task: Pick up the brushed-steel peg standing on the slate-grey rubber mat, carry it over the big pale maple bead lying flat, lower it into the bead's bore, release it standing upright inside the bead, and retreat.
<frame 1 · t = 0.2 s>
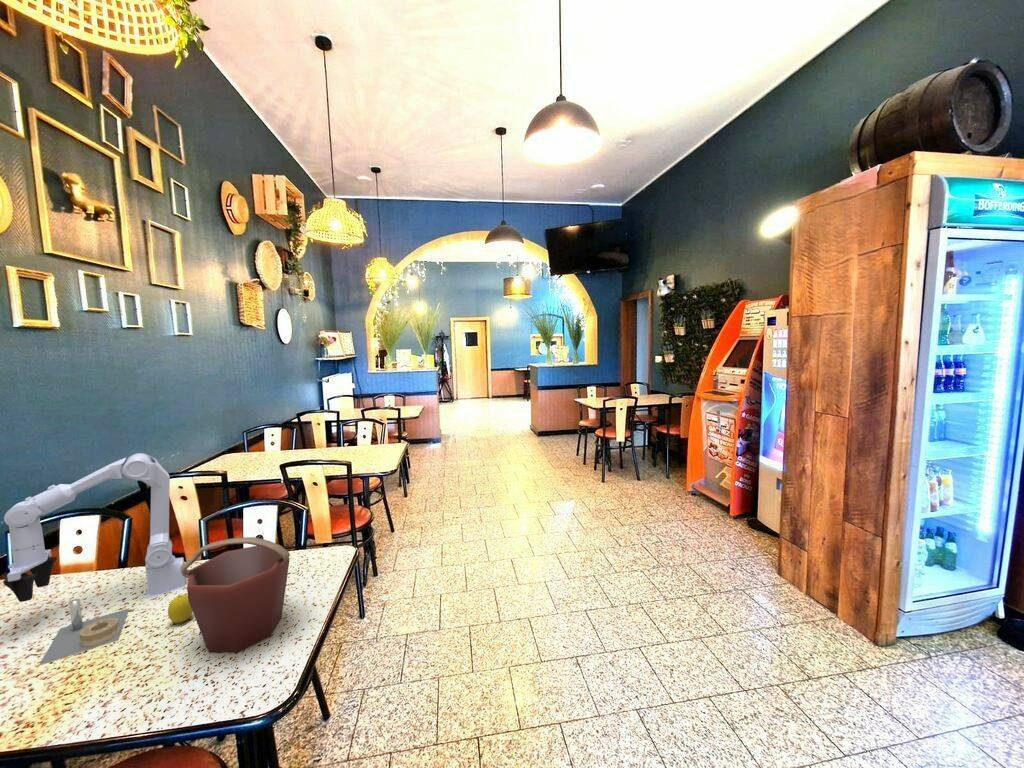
hand: (34, 593, 113), 10 cm above the table, tool pointing down, fingers open, 7 cm apart
steel peg: (77, 628, 112), point 1 cm above the table, touching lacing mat
lemon: (182, 623, 114), on the table
maple bead: (100, 637, 108), point 1 cm above the table, touching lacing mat
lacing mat: (88, 636, 110), on the table
bucket: (245, 630, 110), on the table
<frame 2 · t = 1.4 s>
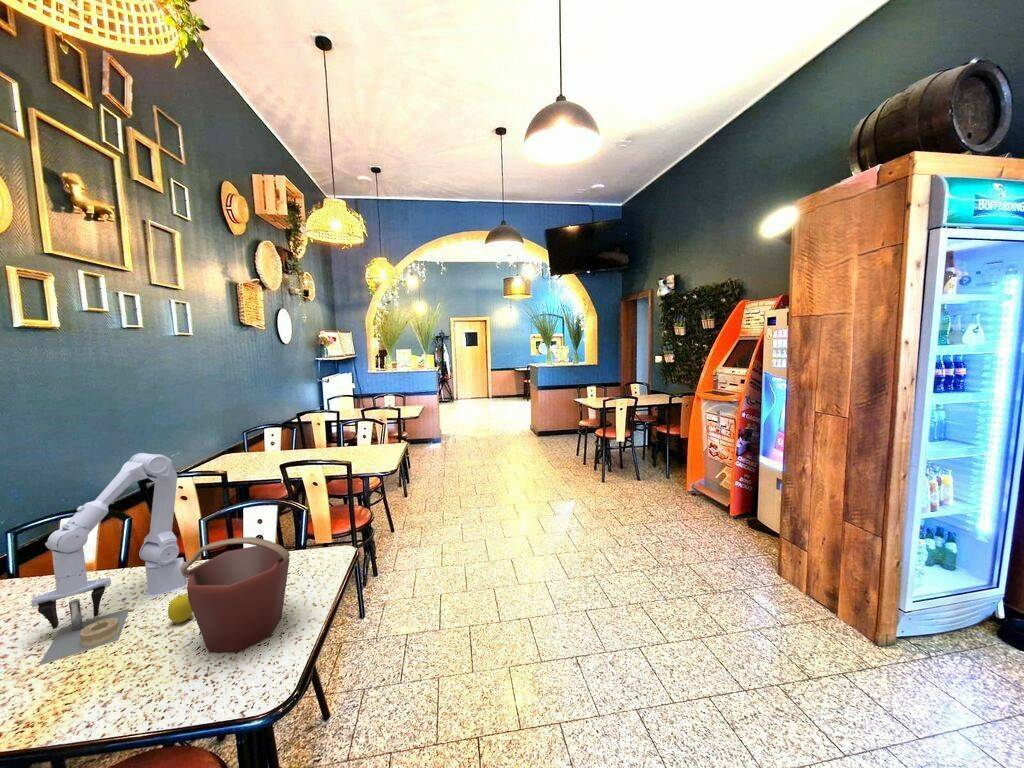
hand: (76, 620, 112), 3 cm above the table, tool pointing down, fingers open, 7 cm apart
nothing on the table moved.
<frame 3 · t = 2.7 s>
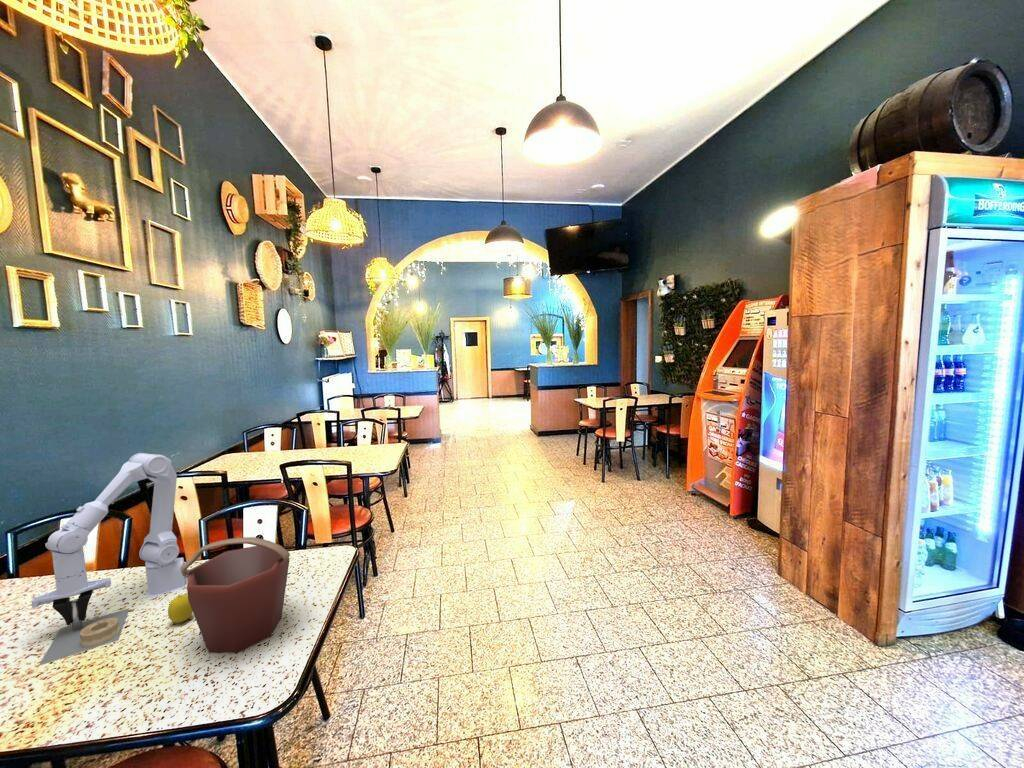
hand: (76, 621, 112), 3 cm above the table, tool pointing down, fingers closed on steel peg, 2 cm apart
steel peg: (77, 628, 112), point 1 cm above the table, touching gripper, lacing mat
everything else where it was.
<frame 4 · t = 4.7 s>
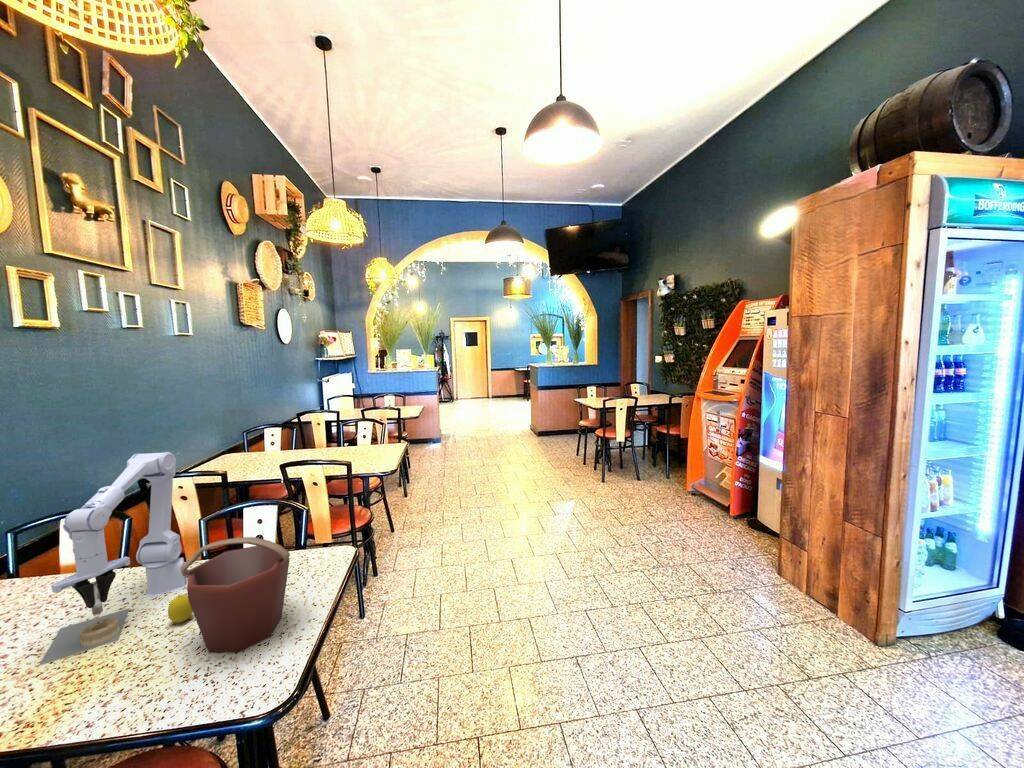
hand: (96, 603, 107), 10 cm above the table, tool pointing down, fingers closed on steel peg
steel peg: (97, 612, 107), point 7 cm above the table, touching gripper
everything else where it was.
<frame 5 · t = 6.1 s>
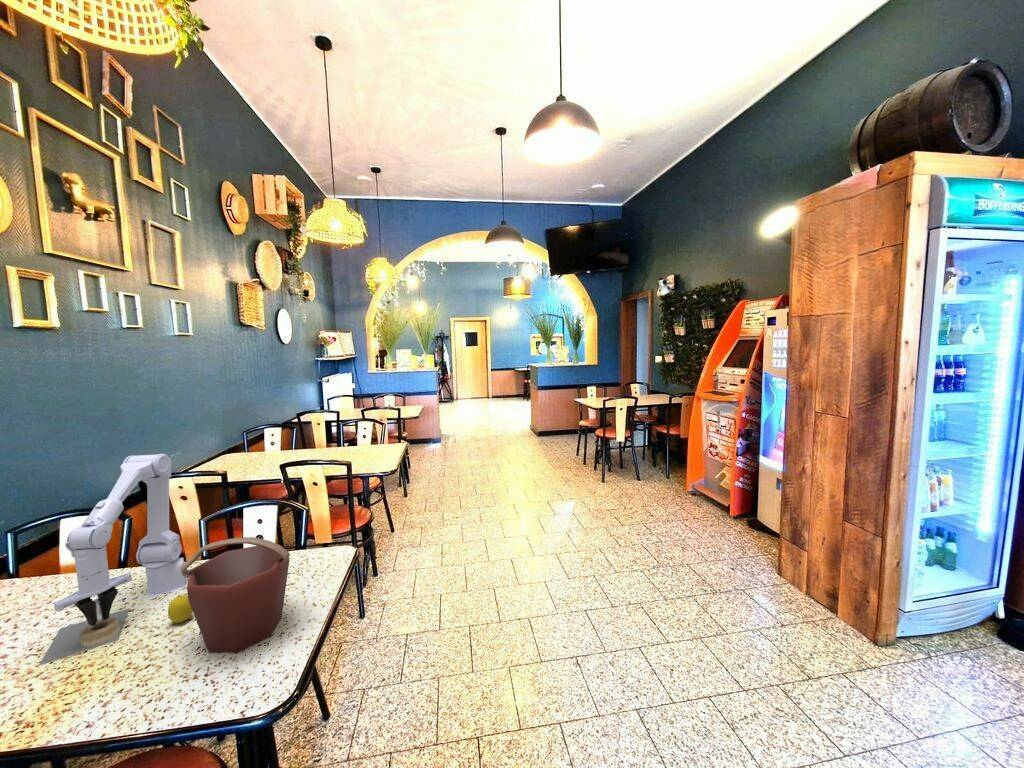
hand: (98, 621, 108), 5 cm above the table, tool pointing down, fingers closed on steel peg, 2 cm apart
steel peg: (99, 629, 108), point 3 cm above the table, touching gripper
everything else where it was.
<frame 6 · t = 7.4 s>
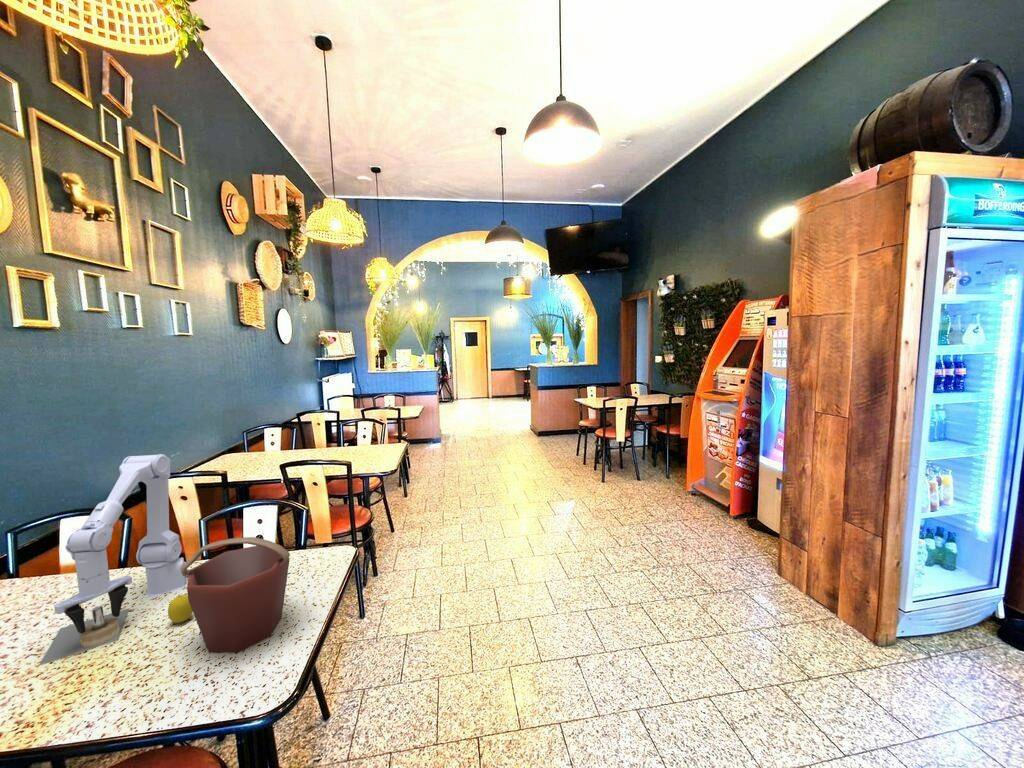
hand: (99, 623, 108), 4 cm above the table, tool pointing down, fingers open, 6 cm apart
steel peg: (100, 637, 108), point 1 cm above the table, touching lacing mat
everything else where it was.
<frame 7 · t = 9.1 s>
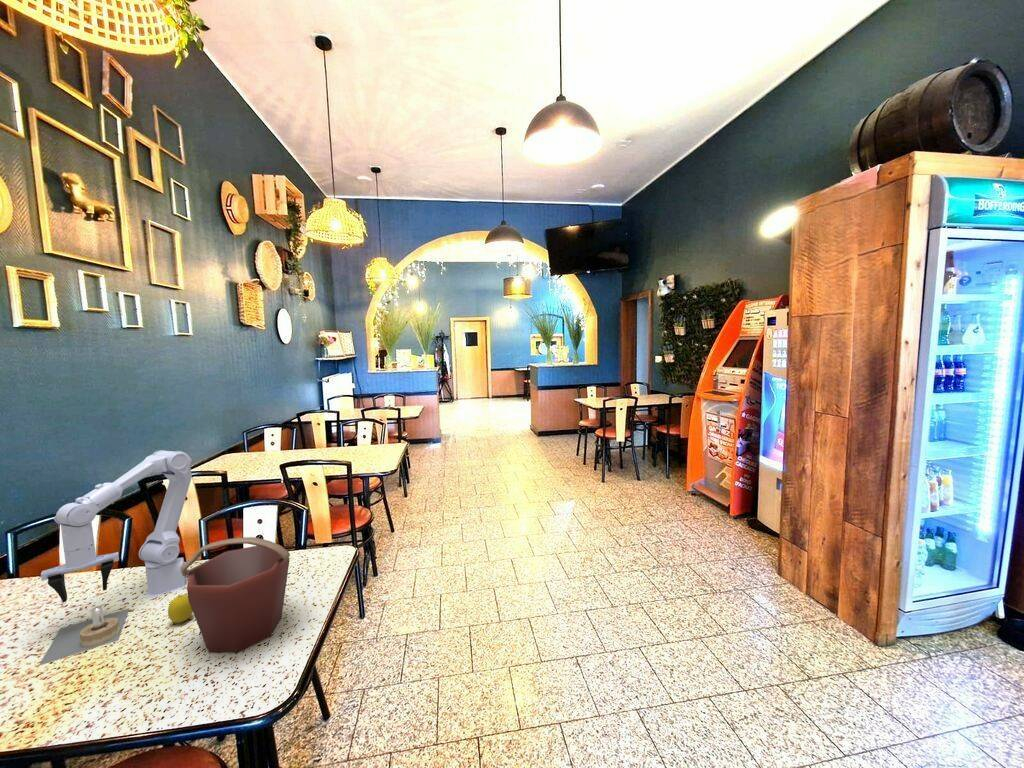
hand: (85, 594, 113), 9 cm above the table, tool pointing down, fingers open, 7 cm apart
nothing on the table moved.
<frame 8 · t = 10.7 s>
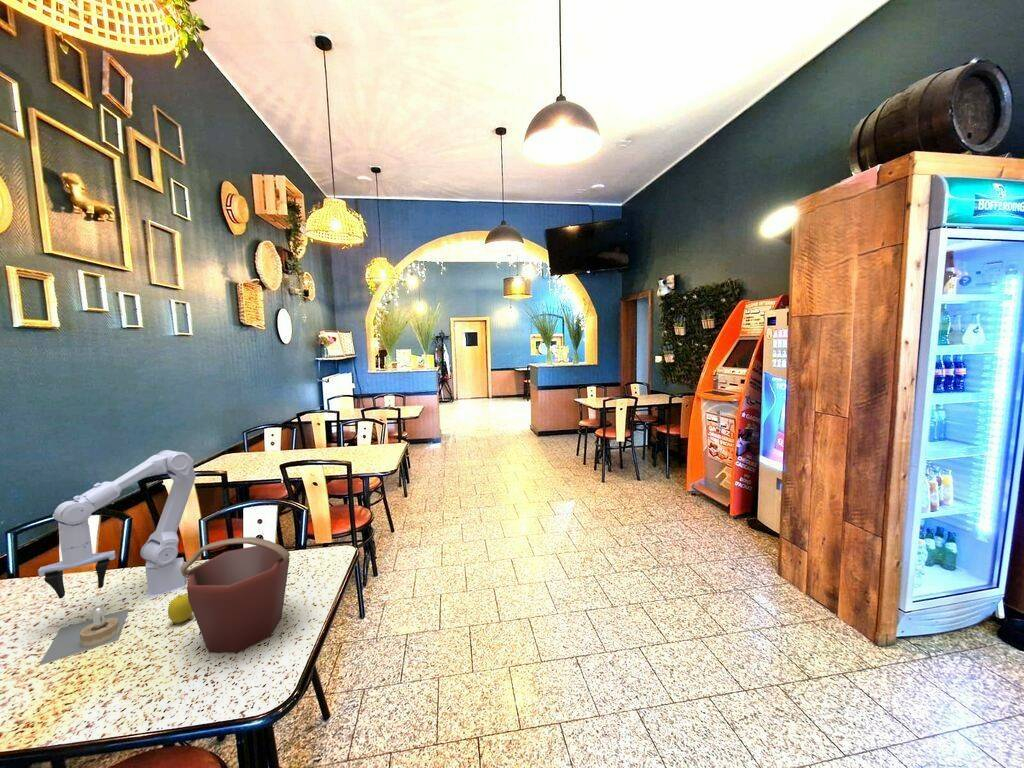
hand: (82, 591, 114), 9 cm above the table, tool pointing down, fingers open, 7 cm apart
nothing on the table moved.
at the end: steel peg 0.0 cm from the maple bead (horizontally); steel peg tilted 1°; steel peg point 0.6 cm above the table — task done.
